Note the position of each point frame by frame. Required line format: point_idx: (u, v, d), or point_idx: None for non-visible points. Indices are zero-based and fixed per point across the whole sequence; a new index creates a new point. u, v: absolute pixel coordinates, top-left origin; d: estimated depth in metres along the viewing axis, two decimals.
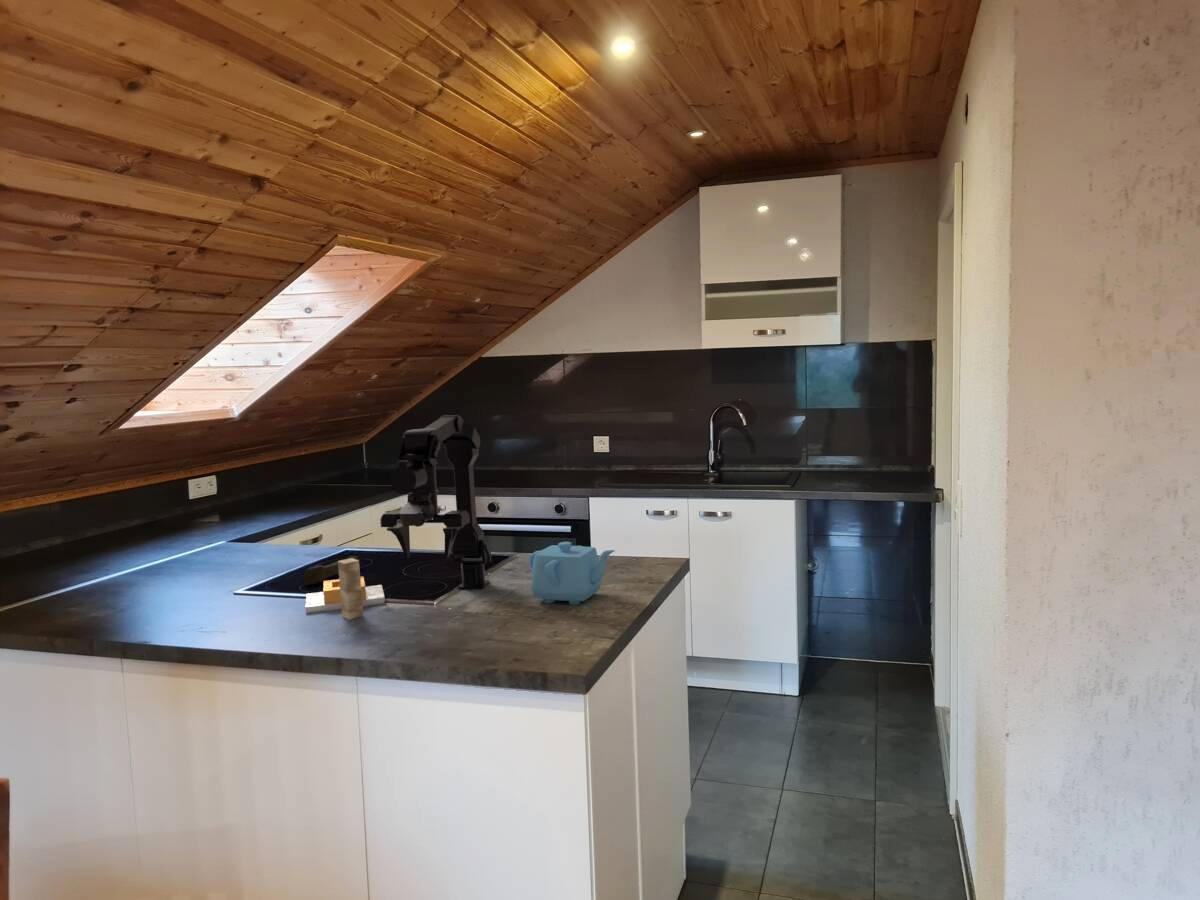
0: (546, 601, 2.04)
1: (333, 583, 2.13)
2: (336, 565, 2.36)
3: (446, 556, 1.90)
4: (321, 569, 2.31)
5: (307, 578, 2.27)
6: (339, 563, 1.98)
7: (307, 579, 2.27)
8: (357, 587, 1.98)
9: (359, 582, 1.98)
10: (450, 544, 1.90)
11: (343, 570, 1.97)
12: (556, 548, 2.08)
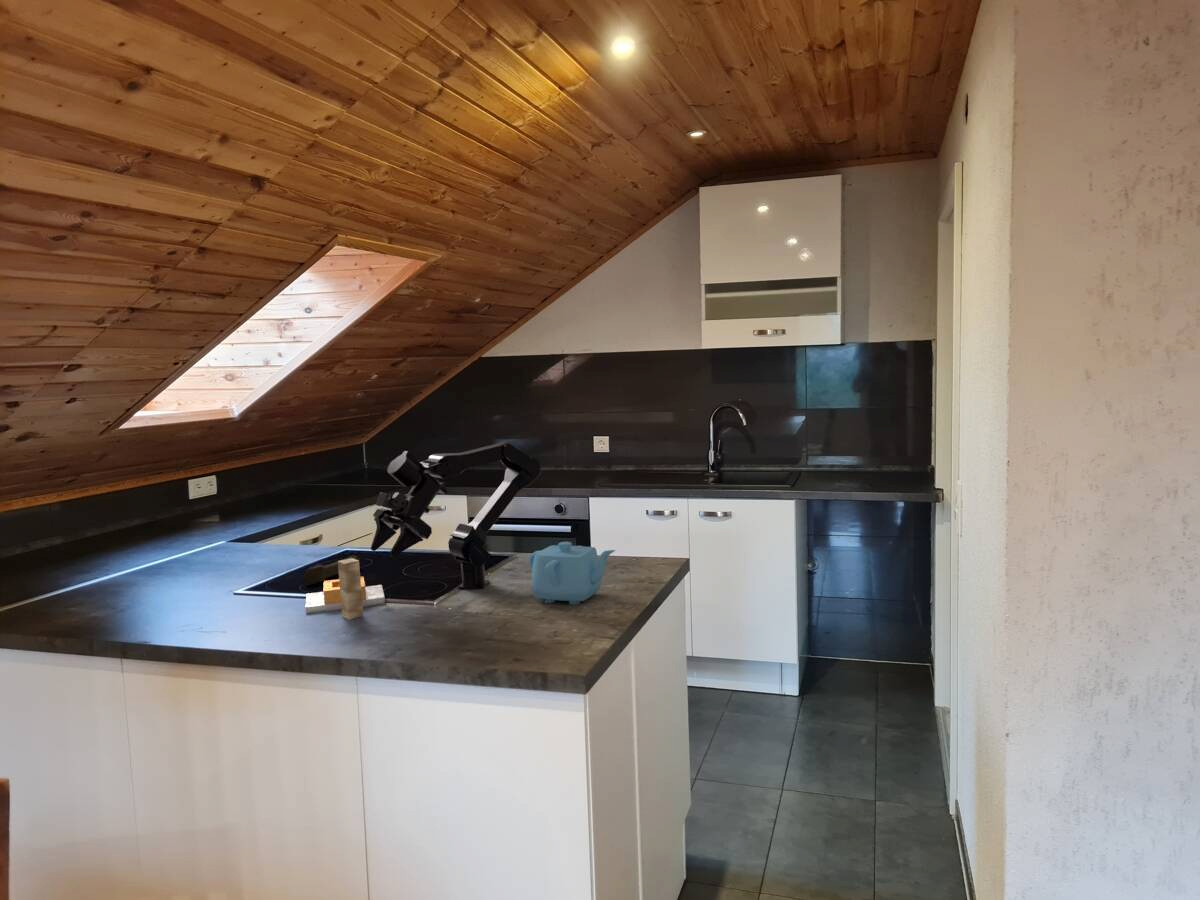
0: (546, 601, 2.04)
1: (333, 583, 2.13)
2: (336, 565, 2.36)
3: (390, 553, 1.99)
4: (321, 569, 2.31)
5: (308, 578, 2.27)
6: (339, 563, 1.98)
7: (307, 579, 2.27)
8: (357, 587, 1.98)
9: (359, 582, 1.98)
10: (399, 545, 2.00)
11: (343, 570, 1.97)
12: (556, 548, 2.08)
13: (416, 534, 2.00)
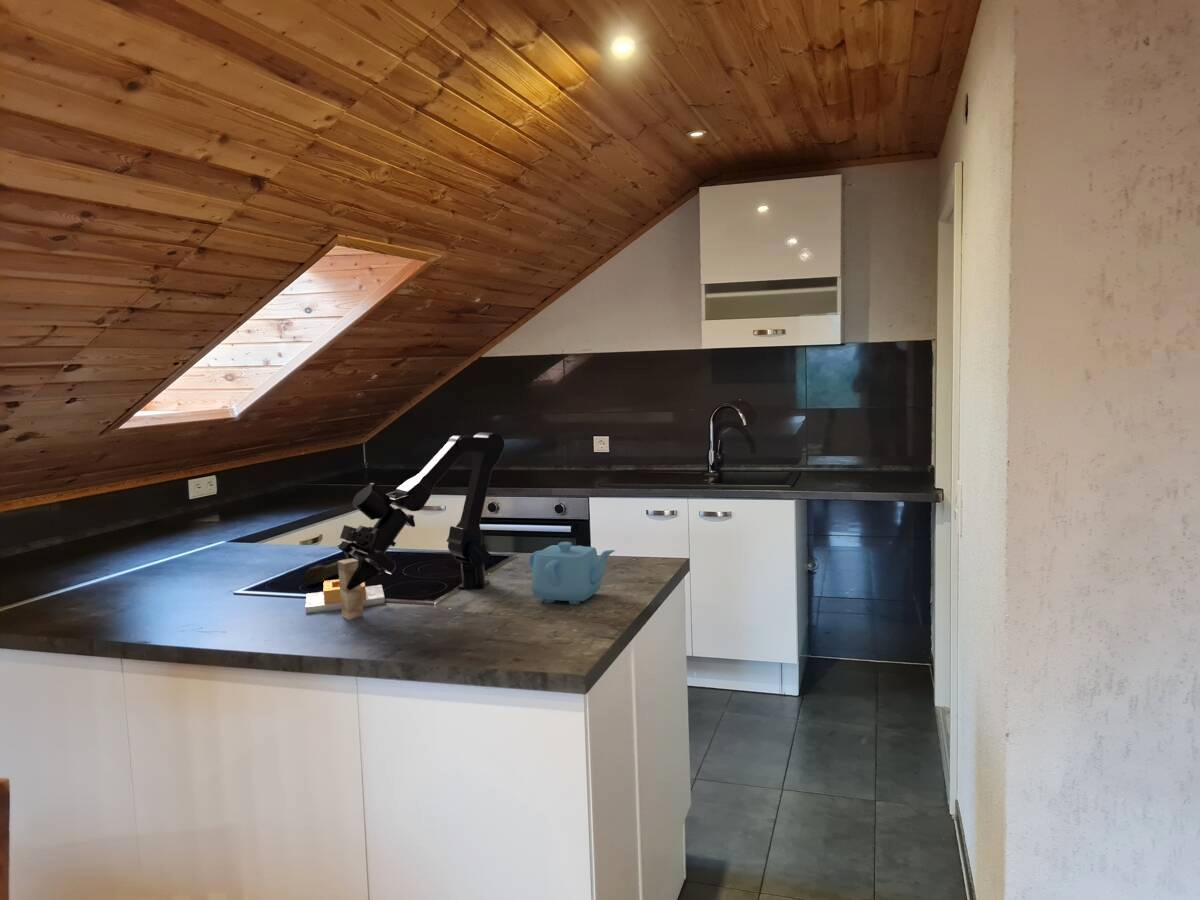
0: (546, 601, 2.04)
1: (333, 583, 2.13)
2: (336, 565, 2.36)
3: (347, 586, 1.96)
4: (322, 569, 2.31)
5: (309, 578, 2.27)
6: (339, 563, 1.98)
7: (308, 579, 2.27)
8: (357, 587, 1.98)
9: None
10: (357, 578, 1.97)
11: (343, 570, 1.97)
12: (556, 548, 2.08)
13: (374, 567, 1.97)
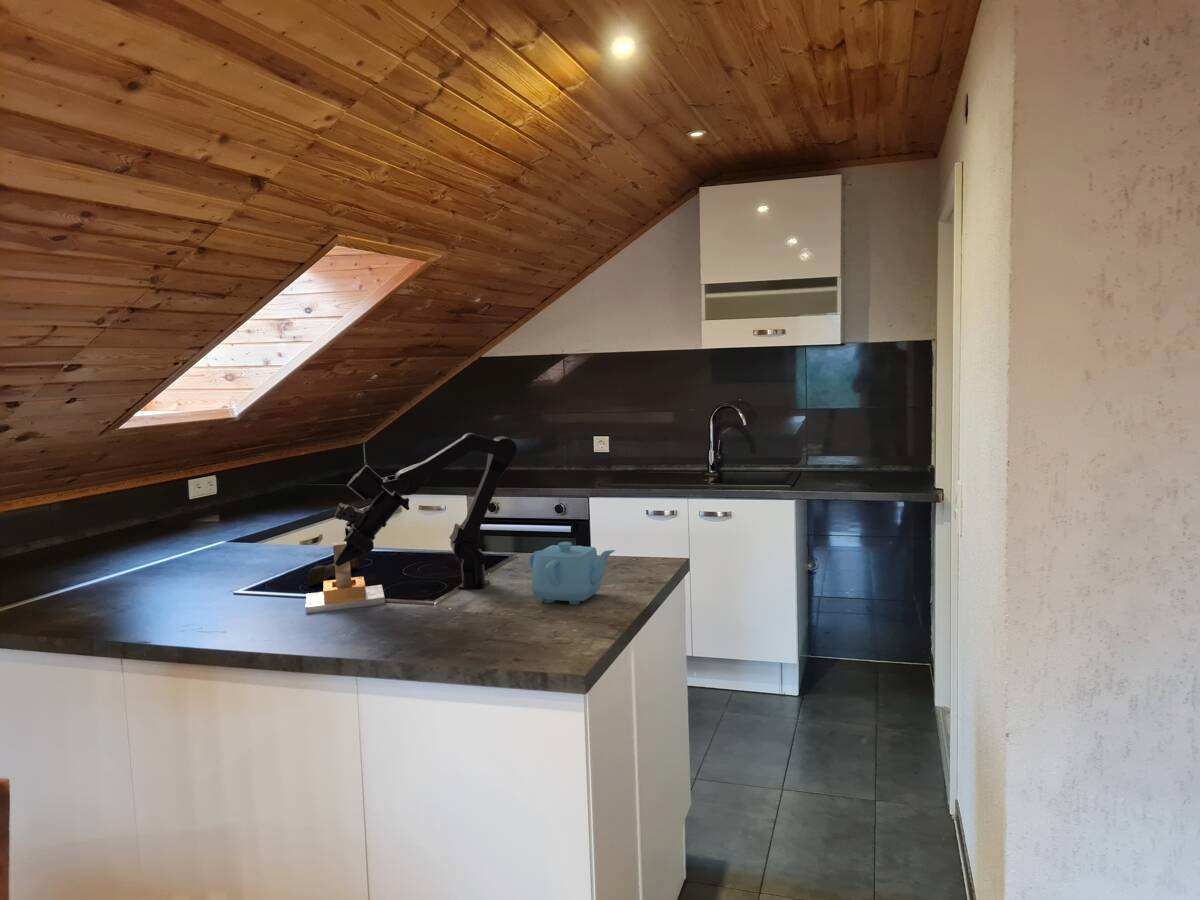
0: (546, 601, 2.04)
1: (333, 583, 2.13)
2: None
3: (335, 562, 2.07)
4: (324, 569, 2.30)
5: (311, 579, 2.27)
6: (333, 544, 2.10)
7: (311, 580, 2.27)
8: (346, 568, 2.09)
9: (348, 564, 2.09)
10: (344, 555, 2.06)
11: None
12: (556, 548, 2.08)
13: (357, 547, 2.05)
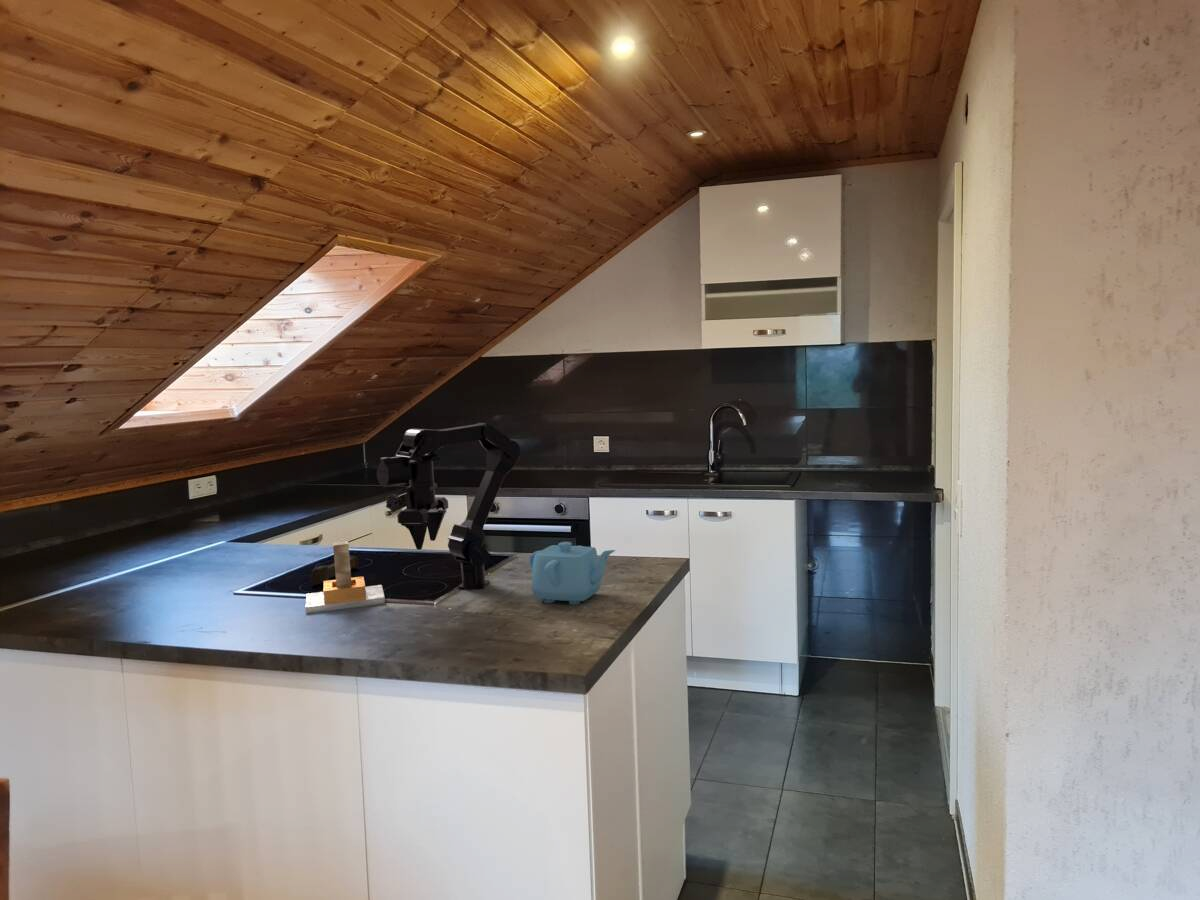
0: (546, 601, 2.04)
1: (333, 583, 2.13)
2: None
3: None
4: (326, 569, 2.30)
5: (314, 579, 2.27)
6: (333, 544, 2.10)
7: (314, 580, 2.27)
8: (346, 568, 2.09)
9: (348, 564, 2.09)
10: (415, 538, 2.05)
11: None
12: (556, 548, 2.08)
13: (413, 524, 2.02)
